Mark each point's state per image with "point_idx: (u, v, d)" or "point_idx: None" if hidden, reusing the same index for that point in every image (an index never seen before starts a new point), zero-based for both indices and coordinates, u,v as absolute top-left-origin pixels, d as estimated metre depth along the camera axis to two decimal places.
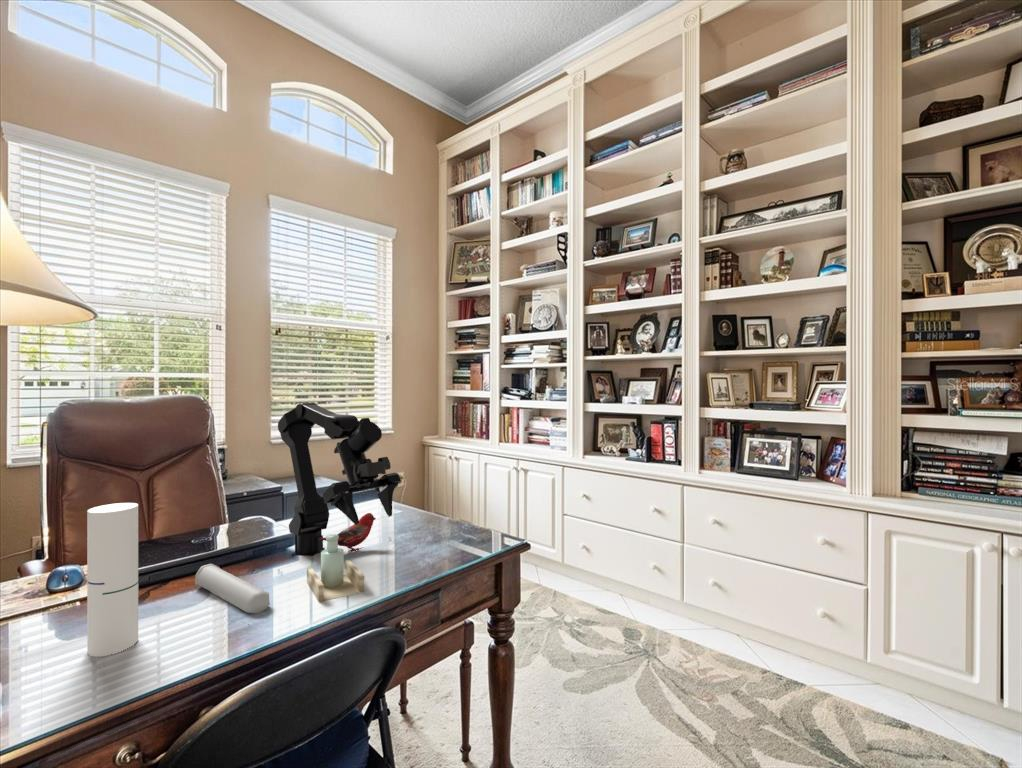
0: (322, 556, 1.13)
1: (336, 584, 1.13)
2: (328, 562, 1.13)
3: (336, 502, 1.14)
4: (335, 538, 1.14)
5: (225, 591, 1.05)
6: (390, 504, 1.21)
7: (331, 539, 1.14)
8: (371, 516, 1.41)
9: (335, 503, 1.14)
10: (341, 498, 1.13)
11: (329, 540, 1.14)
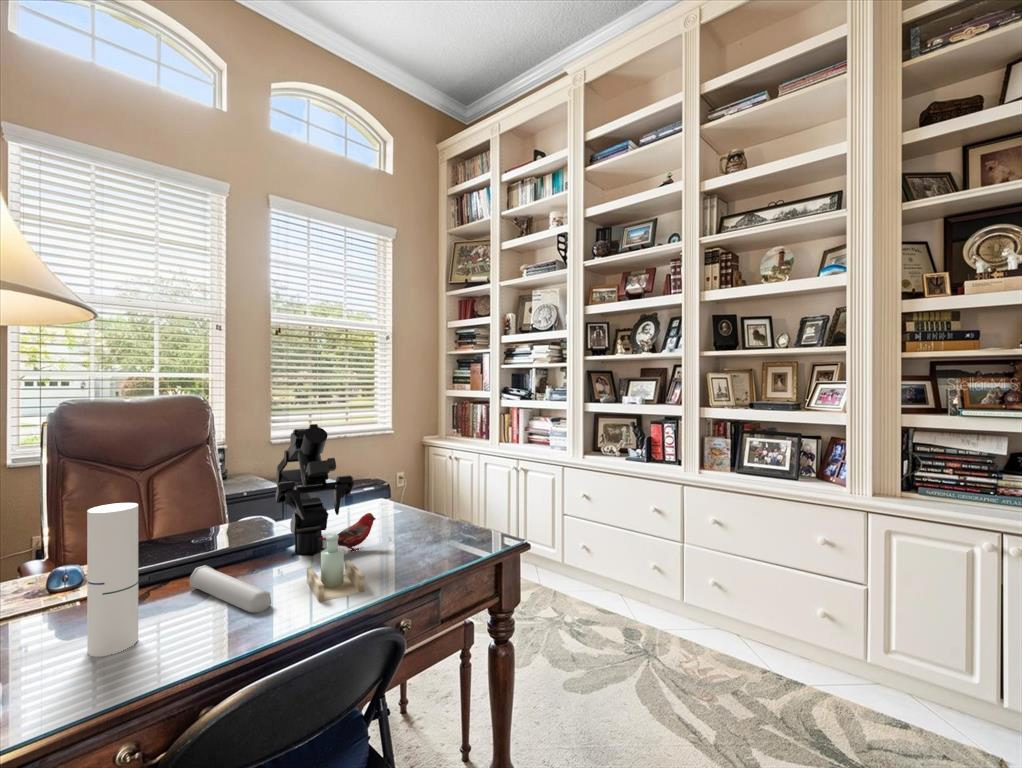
0: (322, 556, 1.13)
1: (336, 584, 1.13)
2: (328, 562, 1.13)
3: (288, 500, 1.25)
4: (335, 538, 1.14)
5: (224, 591, 1.05)
6: (337, 503, 1.28)
7: (331, 539, 1.14)
8: (371, 516, 1.41)
9: (287, 501, 1.25)
10: (289, 495, 1.24)
11: (329, 540, 1.14)
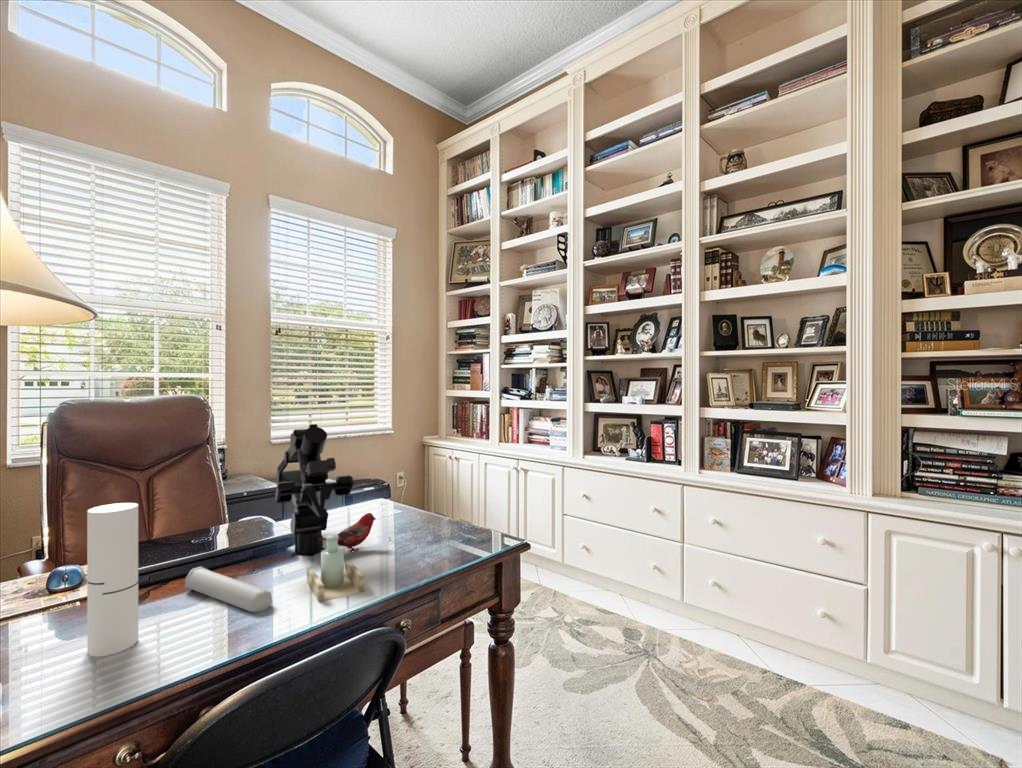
0: (322, 556, 1.13)
1: (336, 584, 1.13)
2: (328, 562, 1.13)
3: (304, 498, 1.27)
4: (335, 538, 1.14)
5: (223, 592, 1.05)
6: (322, 505, 1.26)
7: (331, 539, 1.14)
8: (371, 516, 1.41)
9: (303, 499, 1.28)
10: (306, 493, 1.26)
11: (329, 540, 1.14)
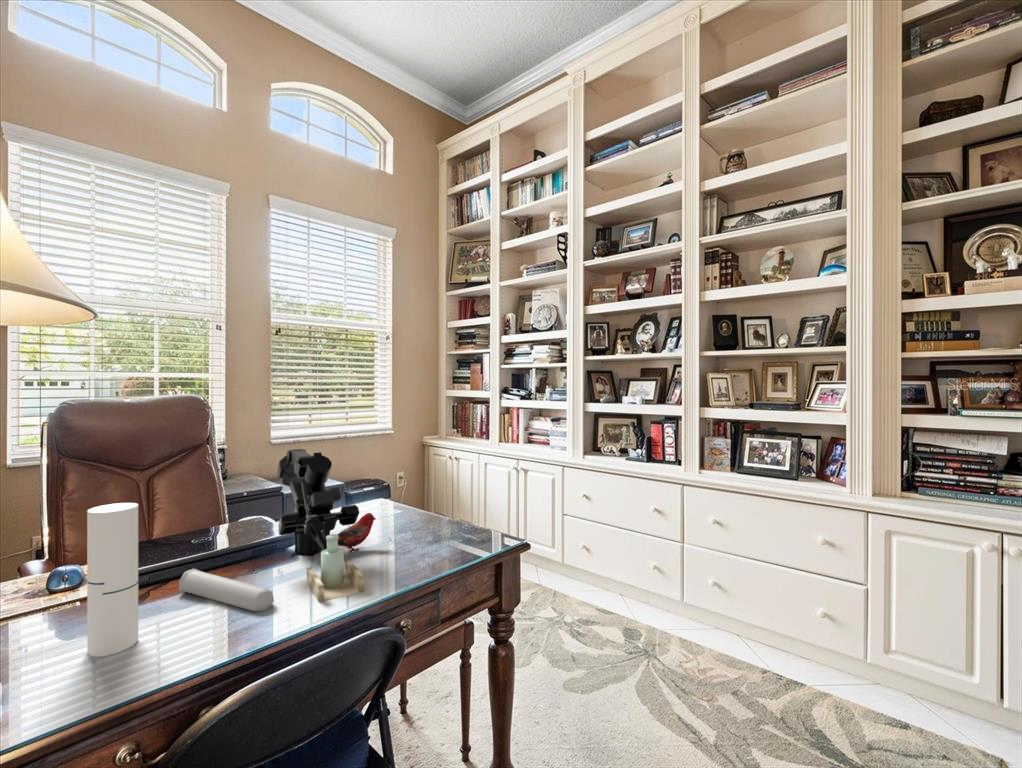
0: (322, 556, 1.13)
1: (336, 584, 1.13)
2: (328, 562, 1.13)
3: (308, 530, 1.23)
4: (335, 538, 1.14)
5: (222, 593, 1.04)
6: None
7: (331, 539, 1.14)
8: (371, 516, 1.41)
9: (307, 531, 1.24)
10: (310, 525, 1.22)
11: (329, 540, 1.14)
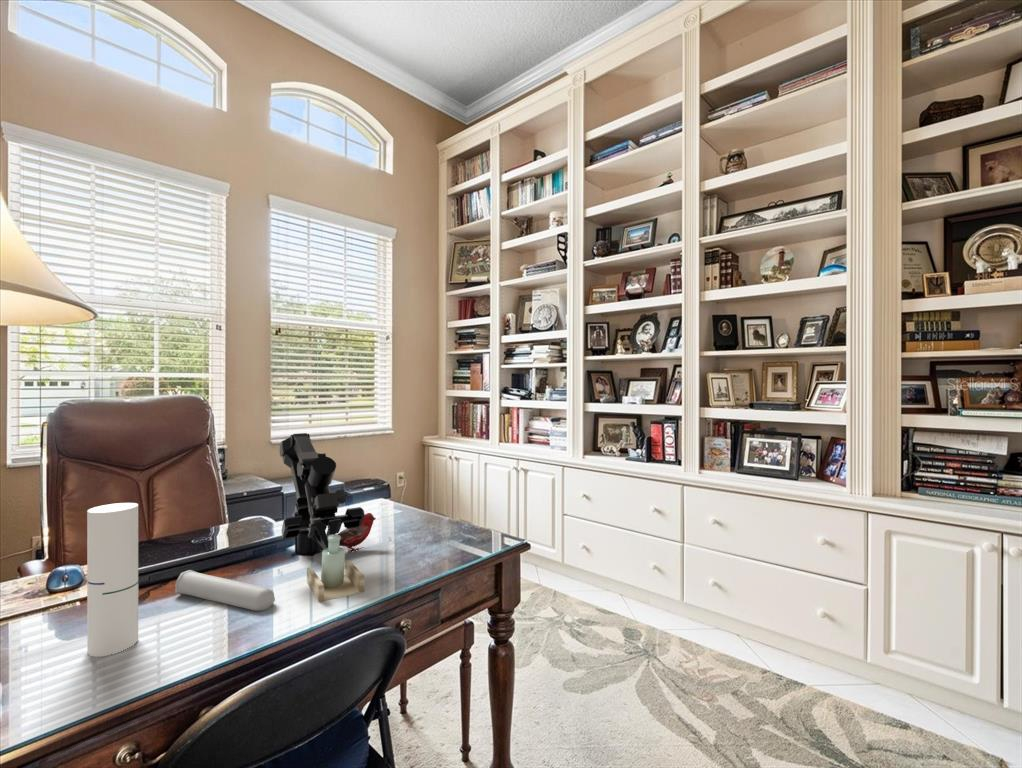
0: (323, 557, 1.12)
1: (336, 584, 1.13)
2: (329, 563, 1.12)
3: (312, 533, 1.19)
4: (337, 540, 1.13)
5: (221, 593, 1.04)
6: None
7: (333, 541, 1.12)
8: (371, 516, 1.41)
9: (312, 535, 1.20)
10: (314, 528, 1.18)
11: (331, 541, 1.12)
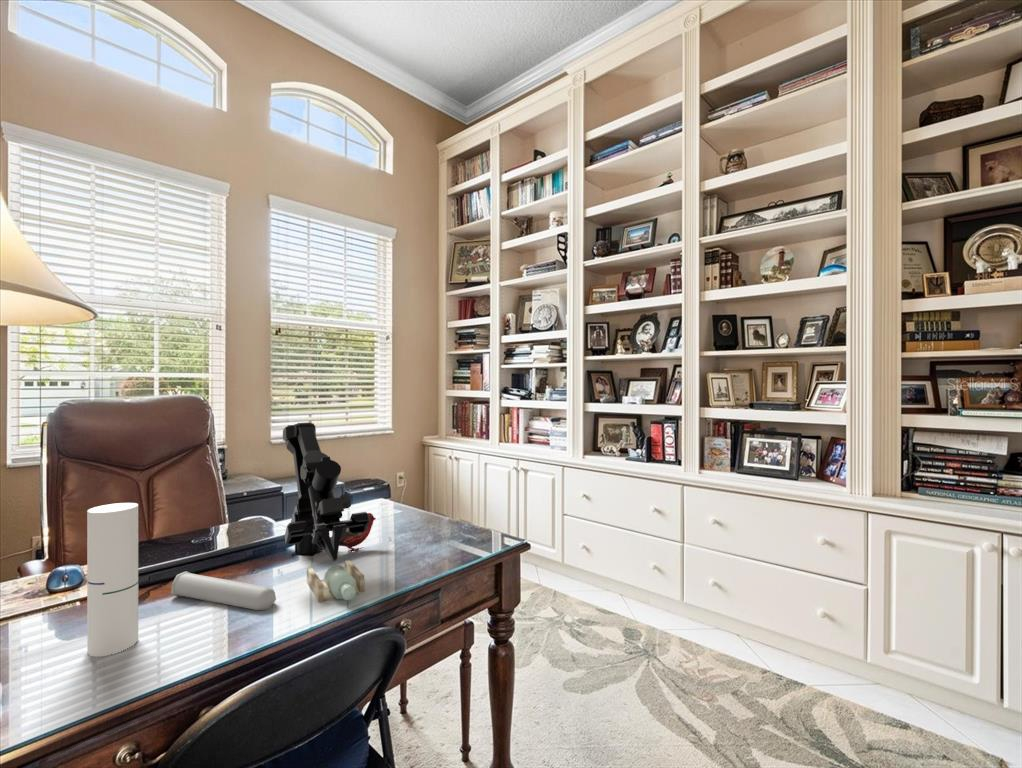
0: (332, 592, 1.06)
1: None
2: None
3: (316, 539, 1.16)
4: None
5: (221, 594, 1.04)
6: (336, 547, 1.14)
7: None
8: (371, 516, 1.41)
9: (316, 540, 1.16)
10: (318, 534, 1.15)
11: None
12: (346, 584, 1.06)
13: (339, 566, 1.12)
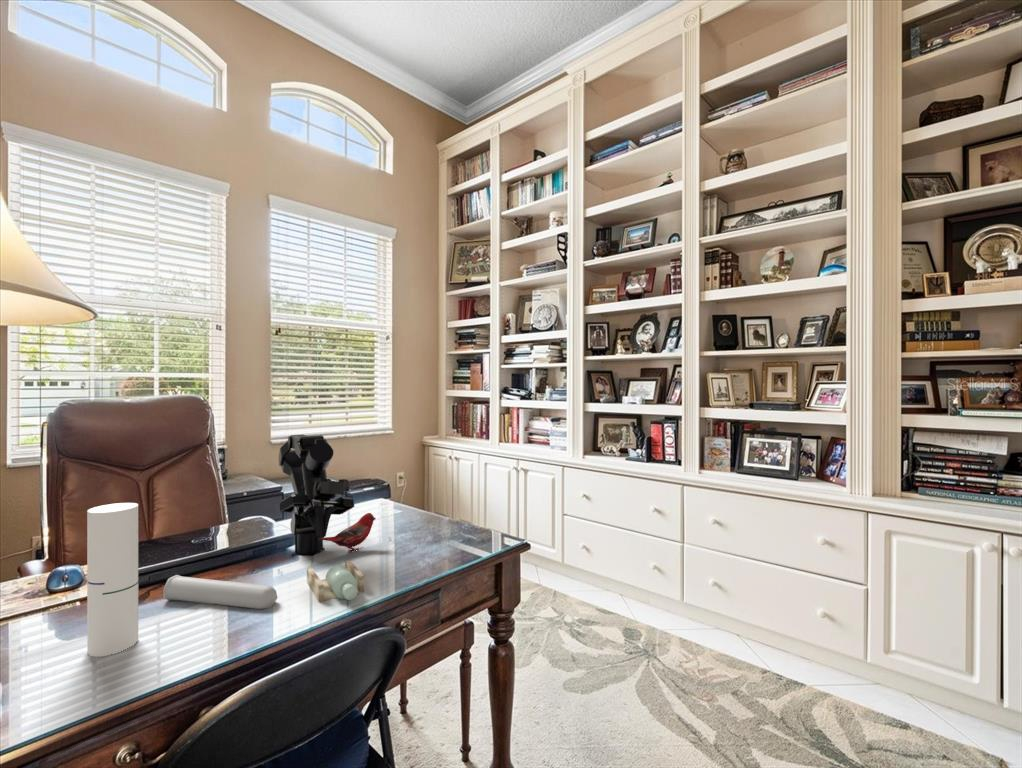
0: (333, 590, 1.06)
1: None
2: None
3: (307, 513, 1.23)
4: None
5: (220, 595, 1.03)
6: (326, 525, 1.24)
7: None
8: (371, 516, 1.41)
9: (305, 514, 1.24)
10: (313, 510, 1.23)
11: None
12: (349, 584, 1.06)
13: (342, 566, 1.13)
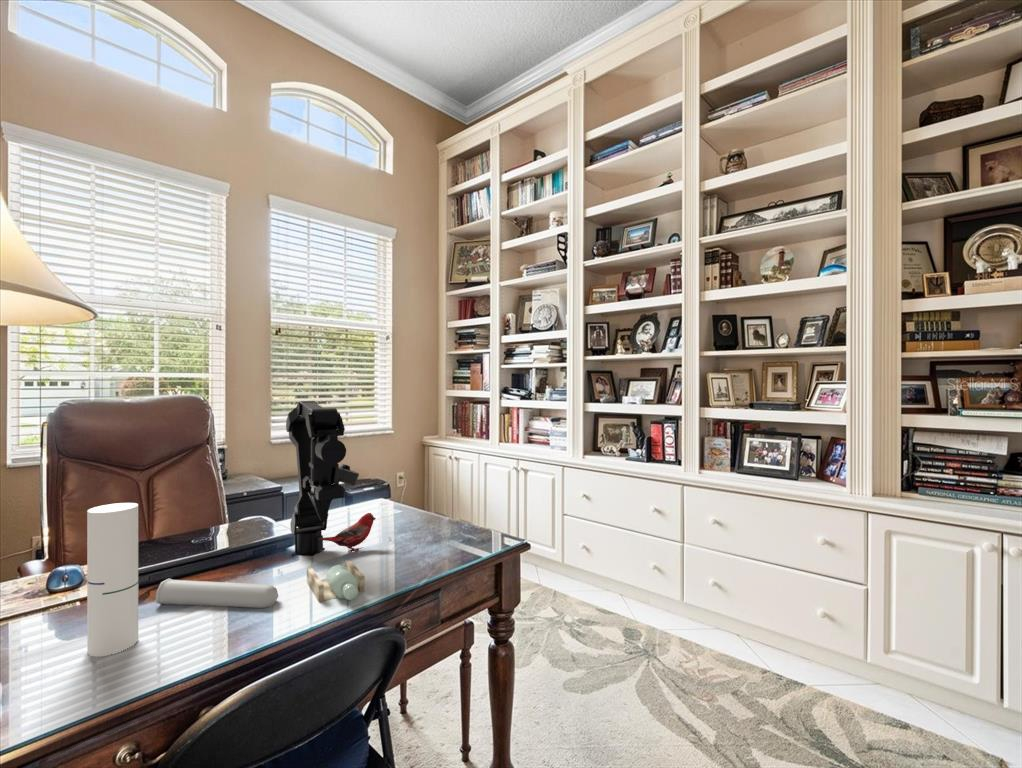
0: (334, 589, 1.06)
1: None
2: None
3: None
4: None
5: (219, 596, 1.03)
6: None
7: None
8: (371, 516, 1.41)
9: None
10: None
11: None
12: (349, 584, 1.06)
13: (343, 566, 1.13)
